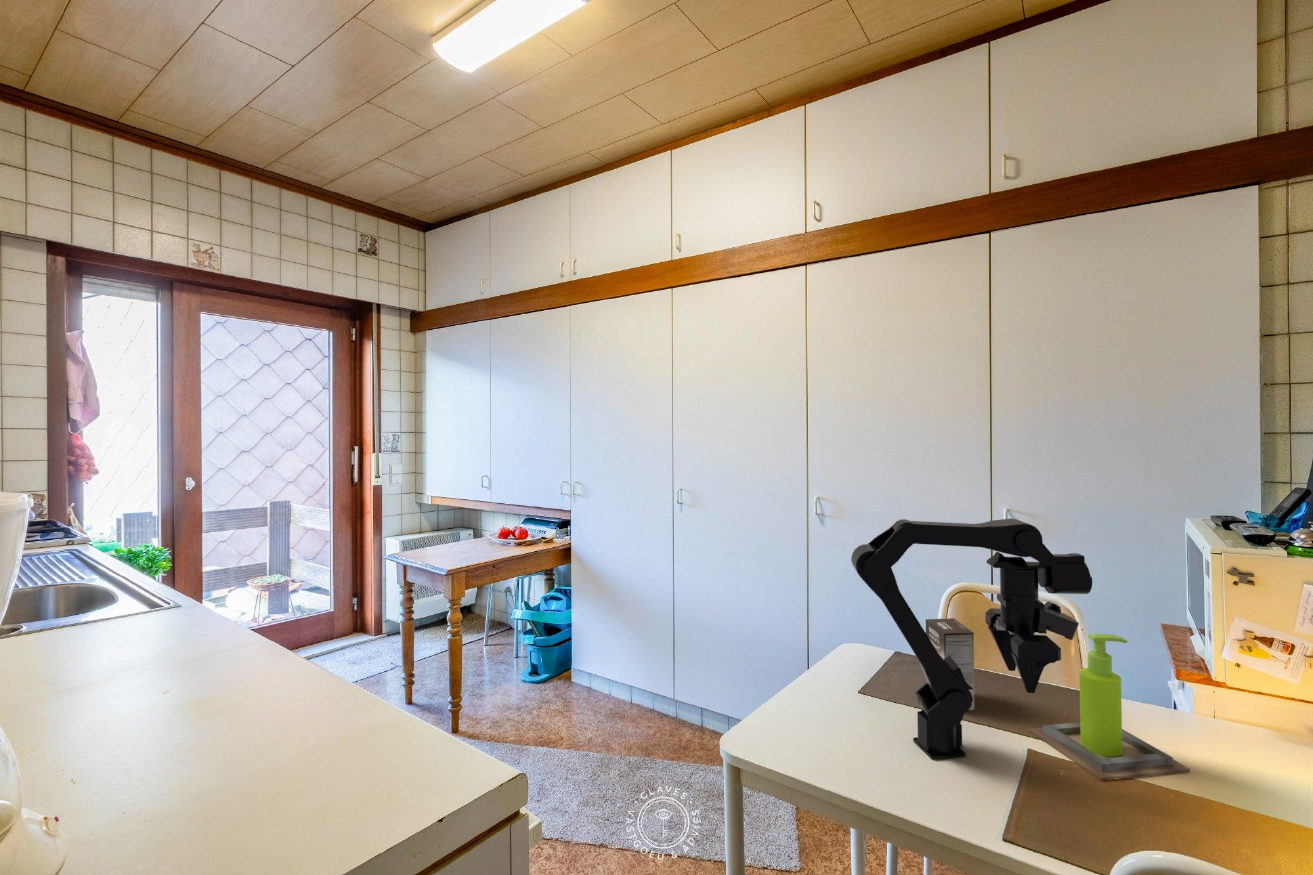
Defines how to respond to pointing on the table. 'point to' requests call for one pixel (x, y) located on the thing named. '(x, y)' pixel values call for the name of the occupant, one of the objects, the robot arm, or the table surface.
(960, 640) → the coffee box
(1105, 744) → the soap dispenser
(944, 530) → the robot arm
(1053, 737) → the grey rectangular tray
